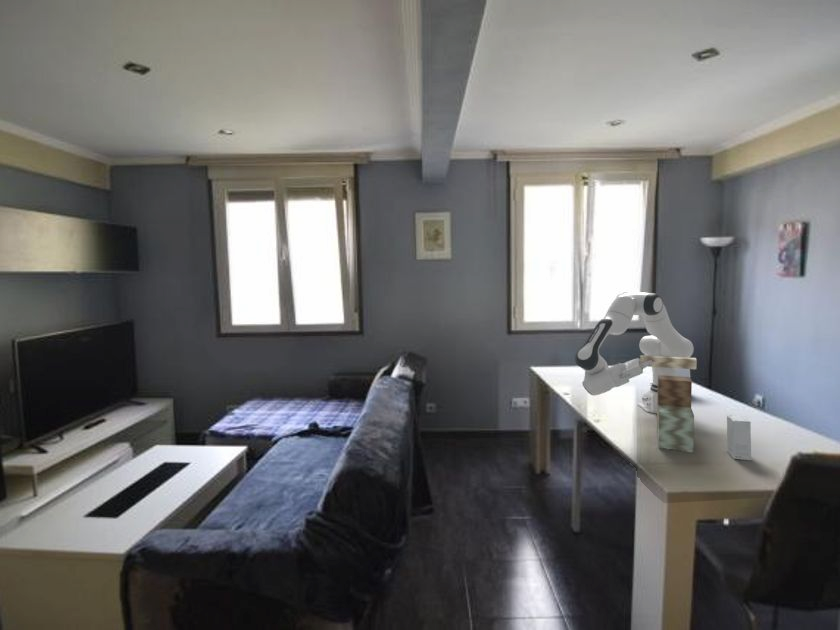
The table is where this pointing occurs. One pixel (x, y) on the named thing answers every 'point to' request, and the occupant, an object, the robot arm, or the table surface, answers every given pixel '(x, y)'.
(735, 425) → the skincare box
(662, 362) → the birch batten
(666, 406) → the stepped stand
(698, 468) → the table surface
